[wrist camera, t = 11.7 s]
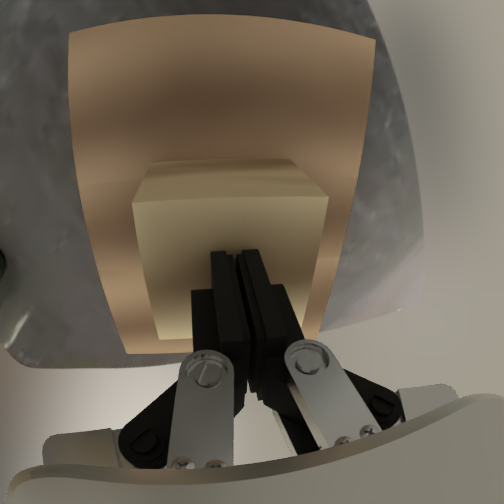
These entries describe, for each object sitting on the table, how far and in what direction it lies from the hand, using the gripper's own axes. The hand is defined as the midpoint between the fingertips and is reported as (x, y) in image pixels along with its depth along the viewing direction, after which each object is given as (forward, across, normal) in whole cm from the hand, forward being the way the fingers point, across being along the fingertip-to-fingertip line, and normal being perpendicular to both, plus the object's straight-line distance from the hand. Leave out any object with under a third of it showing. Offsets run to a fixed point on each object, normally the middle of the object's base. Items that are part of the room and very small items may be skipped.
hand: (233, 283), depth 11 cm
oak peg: (+10, 0, 0) cm, 10 cm away
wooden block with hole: (+11, 0, 0) cm, 11 cm away
